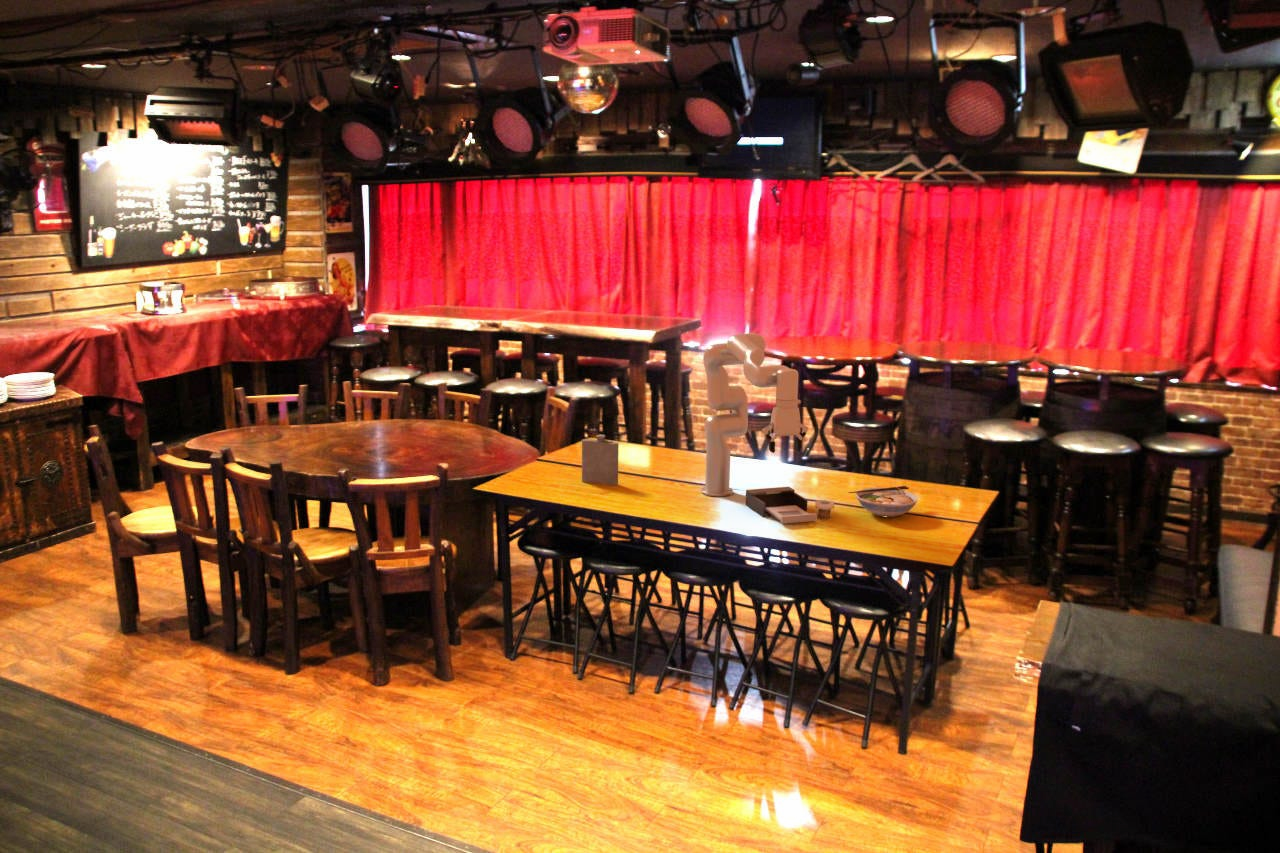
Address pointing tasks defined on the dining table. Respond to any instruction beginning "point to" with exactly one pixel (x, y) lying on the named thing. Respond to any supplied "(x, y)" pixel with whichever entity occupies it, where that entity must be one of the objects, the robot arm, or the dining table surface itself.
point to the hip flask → (600, 461)
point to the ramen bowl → (886, 500)
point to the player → (773, 499)
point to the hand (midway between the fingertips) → (784, 451)
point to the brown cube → (824, 514)
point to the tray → (791, 514)
